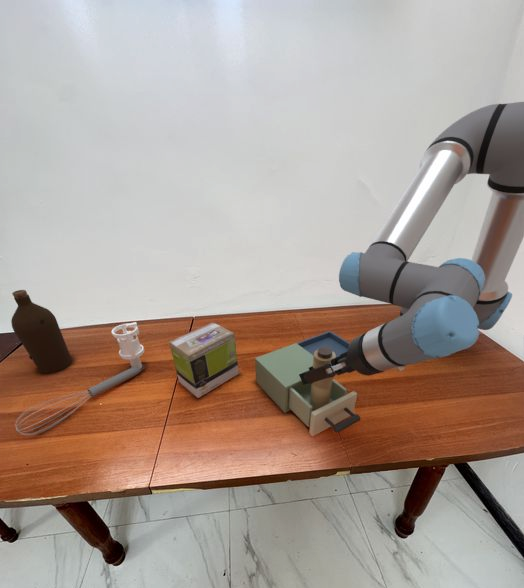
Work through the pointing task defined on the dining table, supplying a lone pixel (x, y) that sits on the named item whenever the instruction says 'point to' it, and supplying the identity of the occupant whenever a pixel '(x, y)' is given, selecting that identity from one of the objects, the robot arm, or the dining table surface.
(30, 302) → the olive oil
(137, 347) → the strainer
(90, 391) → the kitchen whisk
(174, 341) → the tea box
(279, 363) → the cabinet
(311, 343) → the tray
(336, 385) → the drawer
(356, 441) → the dining table surface
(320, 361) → the pepper mill
